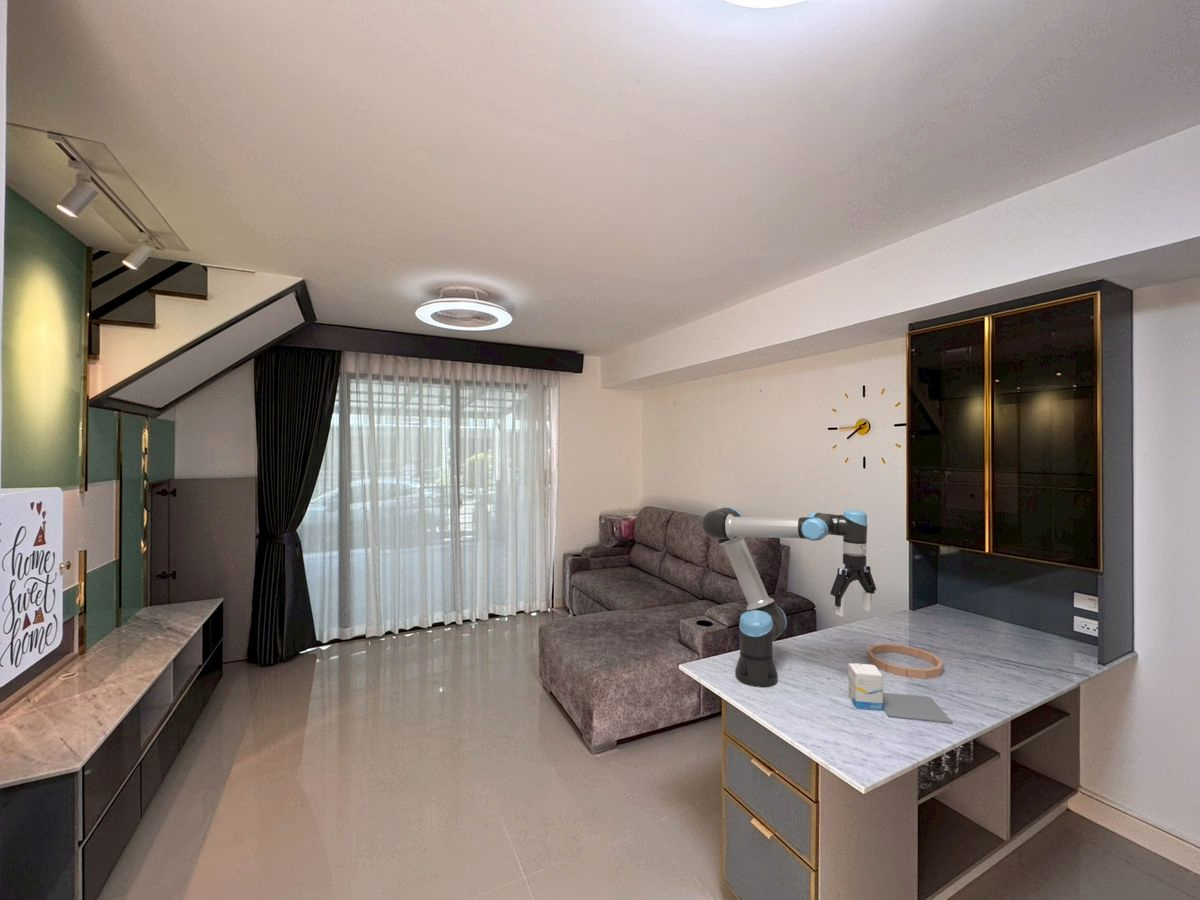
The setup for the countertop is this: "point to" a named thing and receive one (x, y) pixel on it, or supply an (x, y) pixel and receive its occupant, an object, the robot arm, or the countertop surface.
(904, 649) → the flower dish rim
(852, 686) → the ink box
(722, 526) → the robot arm
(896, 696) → the mat
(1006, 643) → the countertop surface
